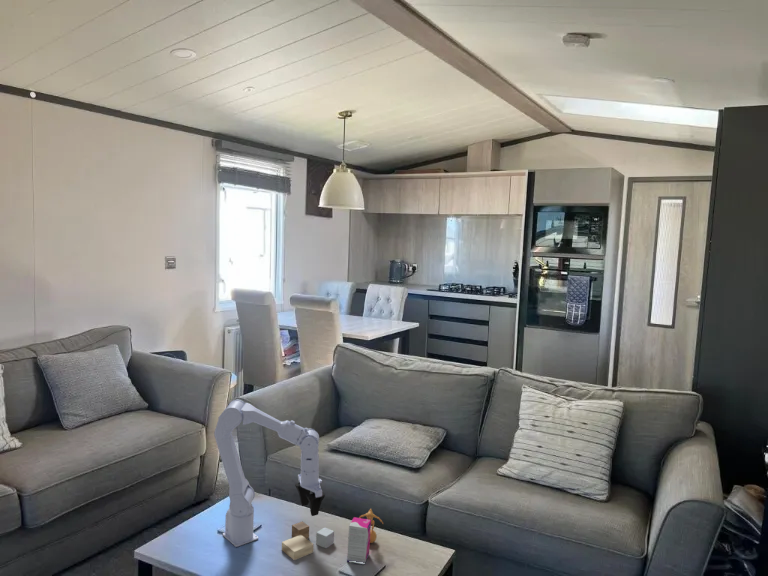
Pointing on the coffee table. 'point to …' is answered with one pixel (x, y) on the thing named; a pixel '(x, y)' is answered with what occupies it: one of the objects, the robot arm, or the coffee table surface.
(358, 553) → the supplement box
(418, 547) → the coffee table surface
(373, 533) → the figurine
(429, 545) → the coffee table surface
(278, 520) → the coffee table surface
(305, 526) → the walnut cube
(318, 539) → the grey cube
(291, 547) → the beech slab
